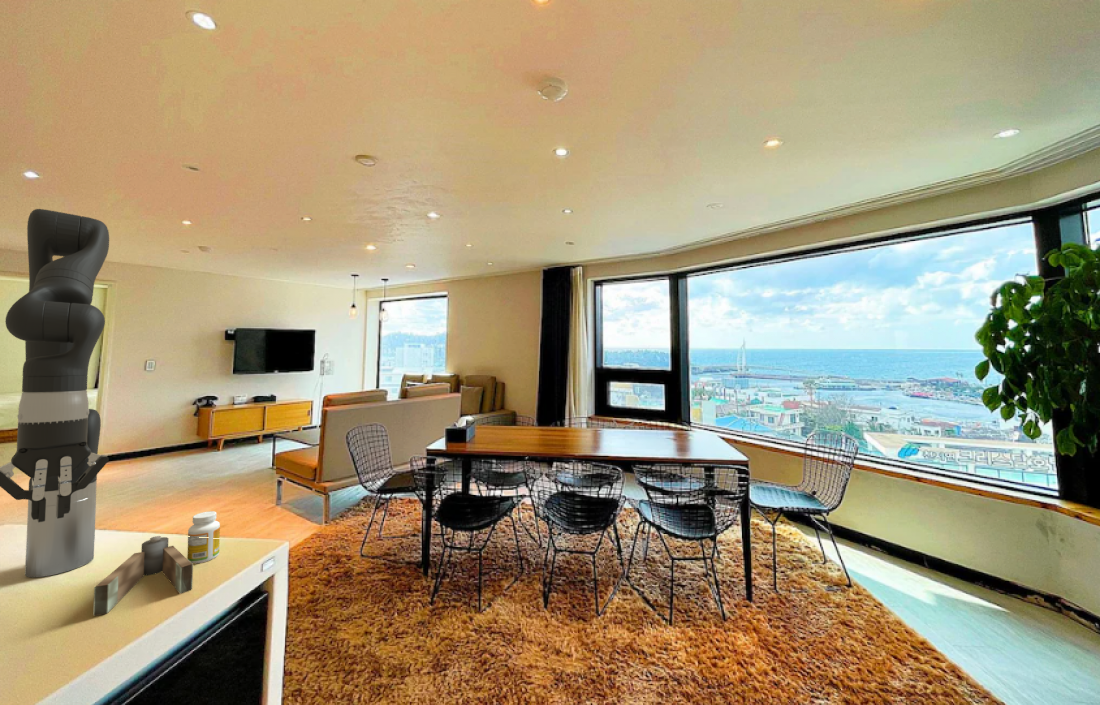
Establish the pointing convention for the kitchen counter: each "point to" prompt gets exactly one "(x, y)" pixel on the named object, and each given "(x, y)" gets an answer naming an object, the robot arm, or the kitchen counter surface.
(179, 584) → the tongs frame
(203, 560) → the supplement bottle
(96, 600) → the tong arm
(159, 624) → the kitchen counter surface
